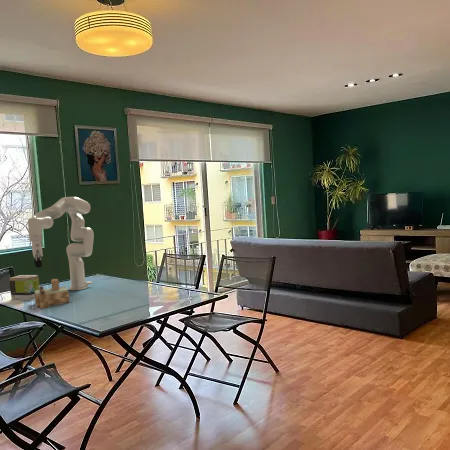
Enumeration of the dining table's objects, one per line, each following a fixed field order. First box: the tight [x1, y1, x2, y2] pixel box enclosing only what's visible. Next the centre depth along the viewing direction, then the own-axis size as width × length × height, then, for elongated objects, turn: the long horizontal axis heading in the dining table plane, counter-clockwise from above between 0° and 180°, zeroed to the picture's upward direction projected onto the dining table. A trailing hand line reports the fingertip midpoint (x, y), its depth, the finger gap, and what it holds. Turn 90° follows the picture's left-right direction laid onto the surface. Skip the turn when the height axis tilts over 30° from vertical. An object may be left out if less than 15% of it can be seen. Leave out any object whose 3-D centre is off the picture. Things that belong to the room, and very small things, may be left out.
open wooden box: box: [34, 290, 70, 309], centre depth 270 cm, size 18×16×8 cm
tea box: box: [8, 274, 41, 301], centre depth 287 cm, size 15×10×15 cm, turn 71°
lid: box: [35, 278, 69, 296], centre depth 271 cm, size 18×12×8 cm, turn 118°
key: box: [39, 285, 45, 294], centre depth 264 cm, size 2×10×3 cm, turn 28°
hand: (38, 266), depth 272 cm, fingers open, 9 cm apart
